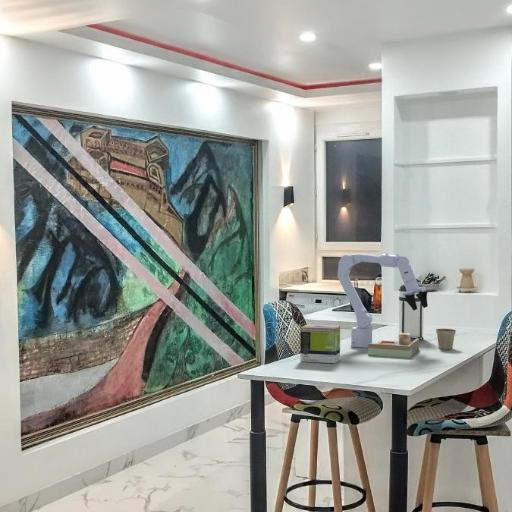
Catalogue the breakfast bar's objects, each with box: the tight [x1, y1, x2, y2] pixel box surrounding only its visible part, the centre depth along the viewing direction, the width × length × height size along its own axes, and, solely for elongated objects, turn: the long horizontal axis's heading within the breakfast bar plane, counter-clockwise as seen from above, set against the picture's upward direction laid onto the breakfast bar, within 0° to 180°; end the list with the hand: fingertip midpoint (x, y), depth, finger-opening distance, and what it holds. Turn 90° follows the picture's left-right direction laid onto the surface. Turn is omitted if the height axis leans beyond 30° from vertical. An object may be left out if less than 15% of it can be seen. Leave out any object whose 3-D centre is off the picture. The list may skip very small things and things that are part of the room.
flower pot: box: [435, 328, 457, 350], centre depth 366 cm, size 9×9×9 cm
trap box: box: [367, 338, 420, 359], centre depth 355 cm, size 18×24×5 cm
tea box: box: [299, 324, 341, 364], centre depth 330 cm, size 15×10×15 cm, turn 71°
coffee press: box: [398, 283, 425, 341], centre depth 396 cm, size 17×16×30 cm
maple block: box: [398, 333, 412, 345], centre depth 360 cm, size 4×4×4 cm
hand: (420, 308), depth 363 cm, fingers open, 7 cm apart
